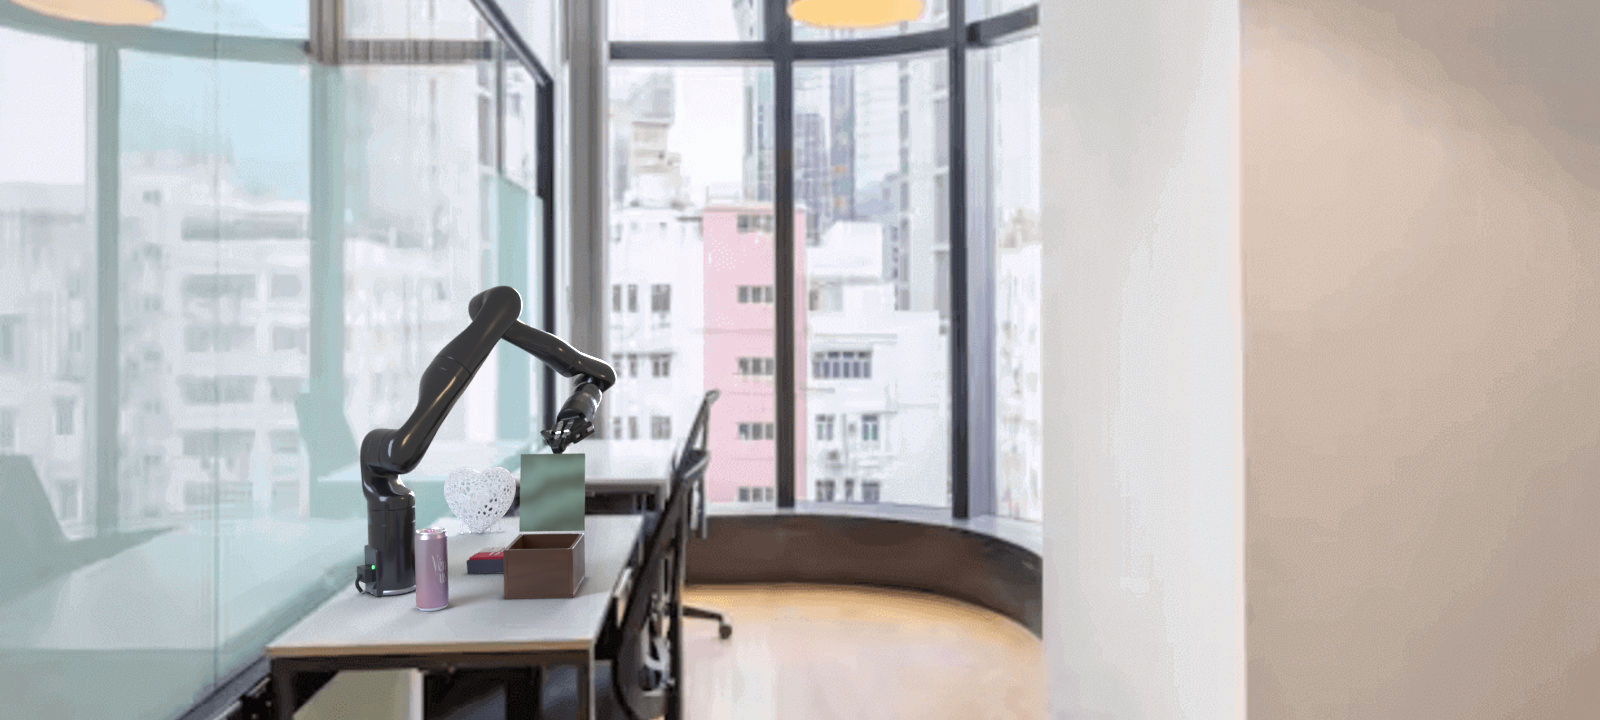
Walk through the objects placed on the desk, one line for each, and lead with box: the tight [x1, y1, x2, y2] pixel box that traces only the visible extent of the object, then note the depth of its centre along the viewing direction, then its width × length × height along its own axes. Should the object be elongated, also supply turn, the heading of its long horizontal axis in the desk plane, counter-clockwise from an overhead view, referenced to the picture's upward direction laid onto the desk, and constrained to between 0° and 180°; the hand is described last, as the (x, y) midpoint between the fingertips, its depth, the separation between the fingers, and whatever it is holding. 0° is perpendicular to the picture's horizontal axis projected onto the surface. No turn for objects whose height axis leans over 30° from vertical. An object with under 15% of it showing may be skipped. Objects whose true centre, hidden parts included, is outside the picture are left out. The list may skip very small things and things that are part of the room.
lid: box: [518, 452, 586, 533], centre depth 228 cm, size 16×14×1 cm
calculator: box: [466, 546, 506, 575], centre depth 237 cm, size 11×4×15 cm
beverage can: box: [415, 527, 450, 612], centre depth 206 cm, size 6×6×15 cm
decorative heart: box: [443, 466, 517, 535], centre depth 275 cm, size 18×11×17 cm, turn 94°
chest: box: [503, 532, 586, 600], centre depth 220 cm, size 16×14×10 cm
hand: (556, 451), depth 231 cm, fingers closed
